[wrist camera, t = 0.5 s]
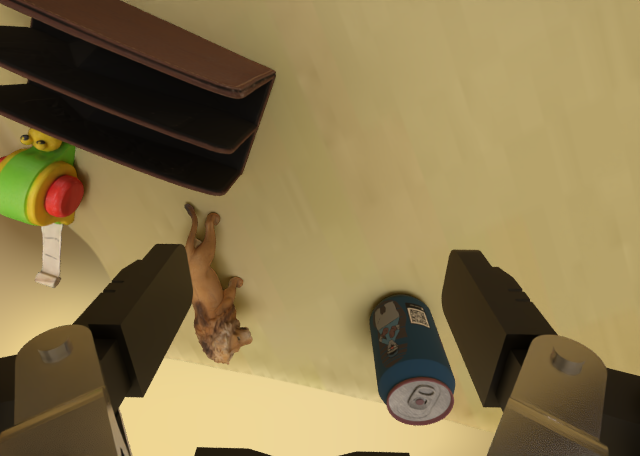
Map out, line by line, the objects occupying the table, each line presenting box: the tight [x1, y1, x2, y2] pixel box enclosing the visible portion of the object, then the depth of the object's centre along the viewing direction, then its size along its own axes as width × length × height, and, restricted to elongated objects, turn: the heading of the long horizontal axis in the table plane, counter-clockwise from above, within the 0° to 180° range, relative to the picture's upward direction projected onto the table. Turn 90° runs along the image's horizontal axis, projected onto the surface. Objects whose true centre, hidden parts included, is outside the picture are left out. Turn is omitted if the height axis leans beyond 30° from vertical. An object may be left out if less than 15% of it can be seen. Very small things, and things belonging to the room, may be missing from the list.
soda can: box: [370, 294, 455, 425], centre depth 37 cm, size 7×7×12 cm
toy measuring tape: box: [0, 128, 84, 288], centre depth 35 cm, size 6×19×7 cm, turn 158°
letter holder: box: [0, 0, 276, 196], centre depth 26 cm, size 10×20×14 cm, turn 67°
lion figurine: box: [185, 204, 253, 365], centre depth 36 cm, size 15×5×9 cm, turn 20°
